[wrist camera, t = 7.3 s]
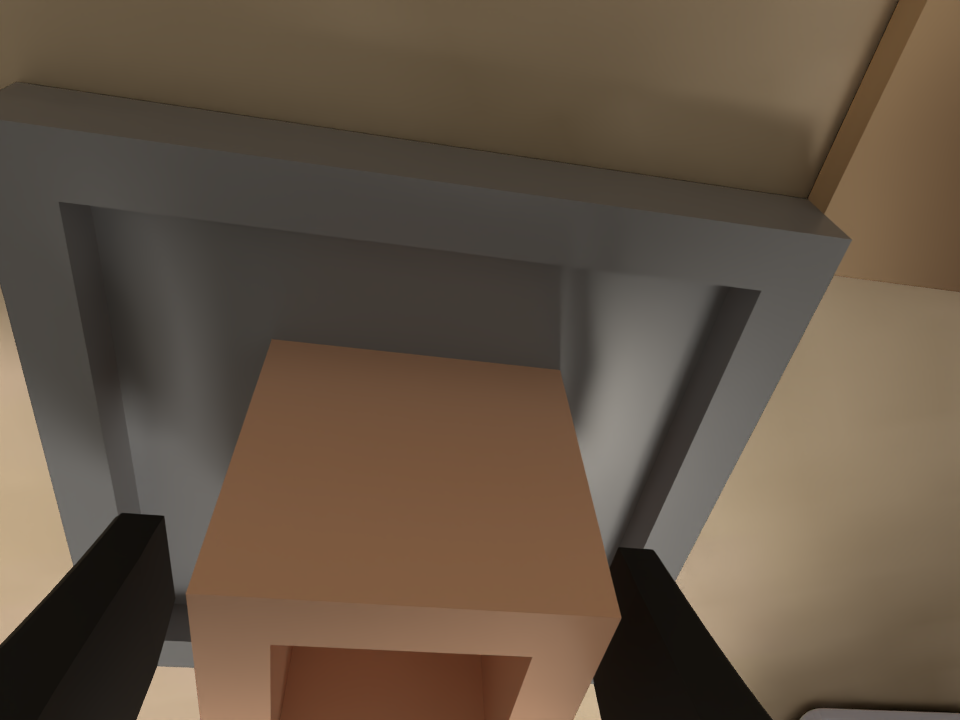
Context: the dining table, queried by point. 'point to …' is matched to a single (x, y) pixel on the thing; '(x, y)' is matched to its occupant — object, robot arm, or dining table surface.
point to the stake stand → (902, 155)
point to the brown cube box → (401, 546)
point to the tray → (377, 301)
